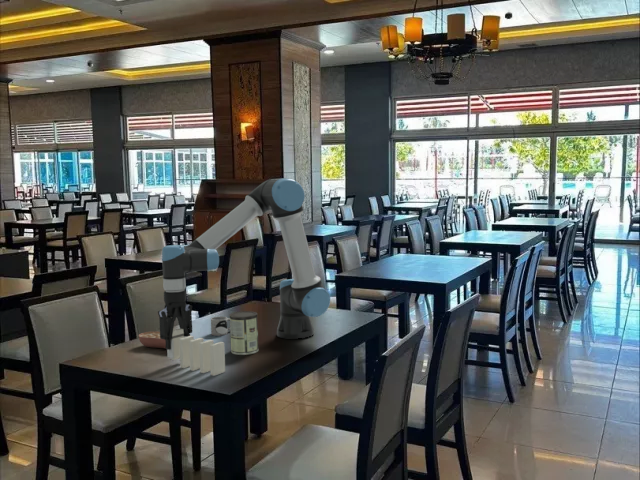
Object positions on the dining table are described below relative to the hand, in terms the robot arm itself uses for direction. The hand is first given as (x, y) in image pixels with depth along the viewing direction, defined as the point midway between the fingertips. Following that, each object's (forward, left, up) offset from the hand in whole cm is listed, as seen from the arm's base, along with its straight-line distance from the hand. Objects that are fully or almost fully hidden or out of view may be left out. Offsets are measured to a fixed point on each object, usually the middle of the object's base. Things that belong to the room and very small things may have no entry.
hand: (177, 356), depth 220 cm
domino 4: (-13, +7, -3) cm, 15 cm away
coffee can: (-20, -17, -3) cm, 26 cm away
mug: (-4, -44, -3) cm, 44 cm away
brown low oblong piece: (+12, -20, -3) cm, 24 cm away
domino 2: (-4, +2, -3) cm, 6 cm away
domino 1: (0, 0, -1) cm, 1 cm away
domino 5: (-17, +10, -3) cm, 20 cm away
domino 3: (-9, +5, -3) cm, 10 cm away
